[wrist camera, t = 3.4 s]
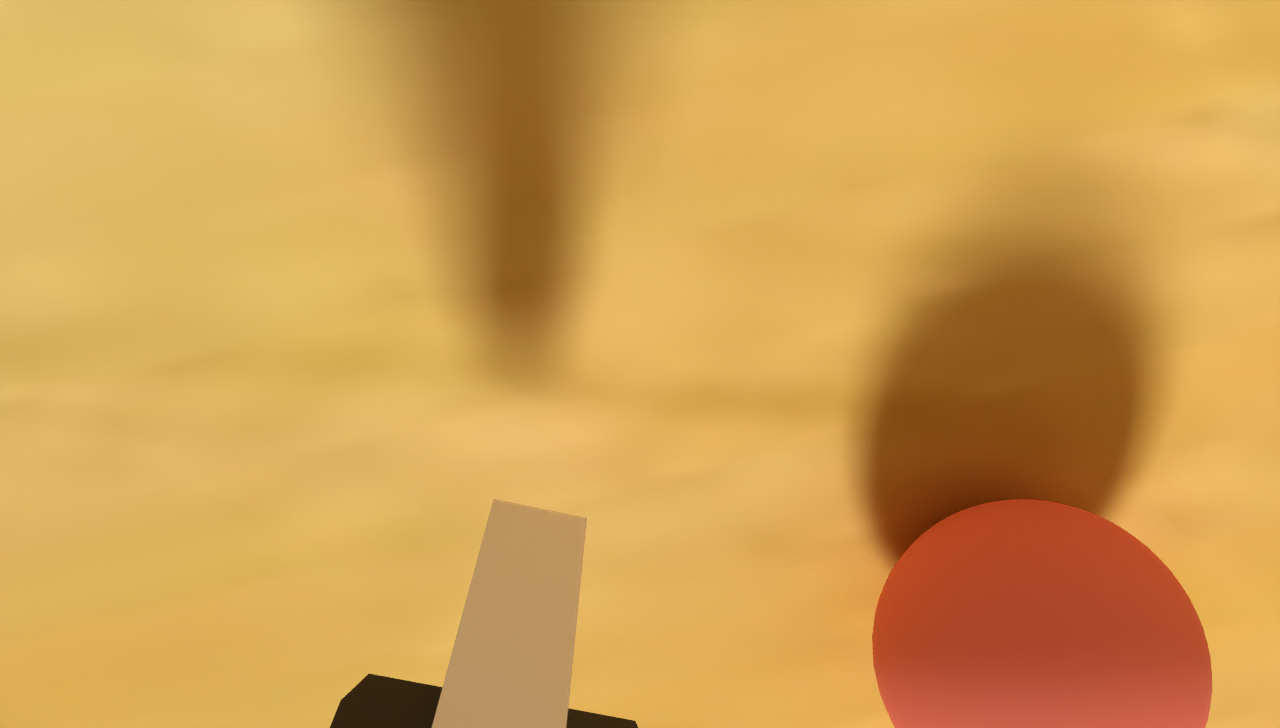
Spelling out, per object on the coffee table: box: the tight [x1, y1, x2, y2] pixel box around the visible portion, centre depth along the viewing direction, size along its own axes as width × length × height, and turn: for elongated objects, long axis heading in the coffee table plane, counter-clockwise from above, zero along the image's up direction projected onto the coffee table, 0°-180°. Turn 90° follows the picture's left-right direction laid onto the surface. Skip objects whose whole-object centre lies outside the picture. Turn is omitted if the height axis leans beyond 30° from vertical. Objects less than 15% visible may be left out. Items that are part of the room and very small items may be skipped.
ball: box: [872, 499, 1212, 728], centre depth 17 cm, size 6×6×6 cm
